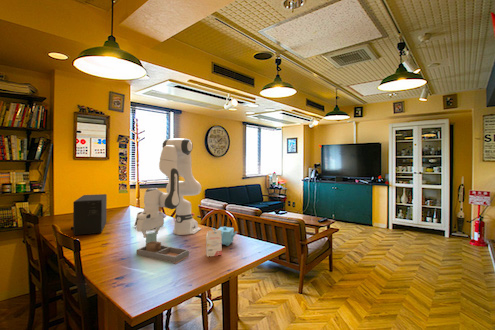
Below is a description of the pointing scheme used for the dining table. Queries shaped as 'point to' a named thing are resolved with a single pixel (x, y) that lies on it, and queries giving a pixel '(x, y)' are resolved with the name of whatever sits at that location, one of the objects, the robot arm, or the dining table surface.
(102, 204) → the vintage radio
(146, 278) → the dining table surface
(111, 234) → the dining table surface
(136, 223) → the purple rock
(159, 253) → the tray
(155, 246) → the walnut block
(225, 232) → the teapot
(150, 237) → the slate block
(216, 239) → the ink cartridge box
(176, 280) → the dining table surface
